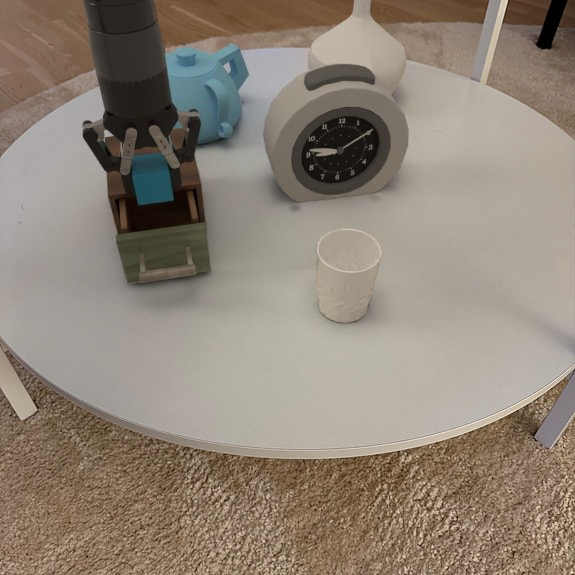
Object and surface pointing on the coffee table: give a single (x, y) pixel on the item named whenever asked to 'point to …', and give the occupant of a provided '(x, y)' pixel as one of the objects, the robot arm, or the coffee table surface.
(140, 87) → the robot arm
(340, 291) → the white cup
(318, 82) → the alarm clock
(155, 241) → the drawer
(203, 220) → the cabinet
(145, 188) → the blue block
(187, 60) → the teapot
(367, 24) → the vase
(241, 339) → the coffee table surface
